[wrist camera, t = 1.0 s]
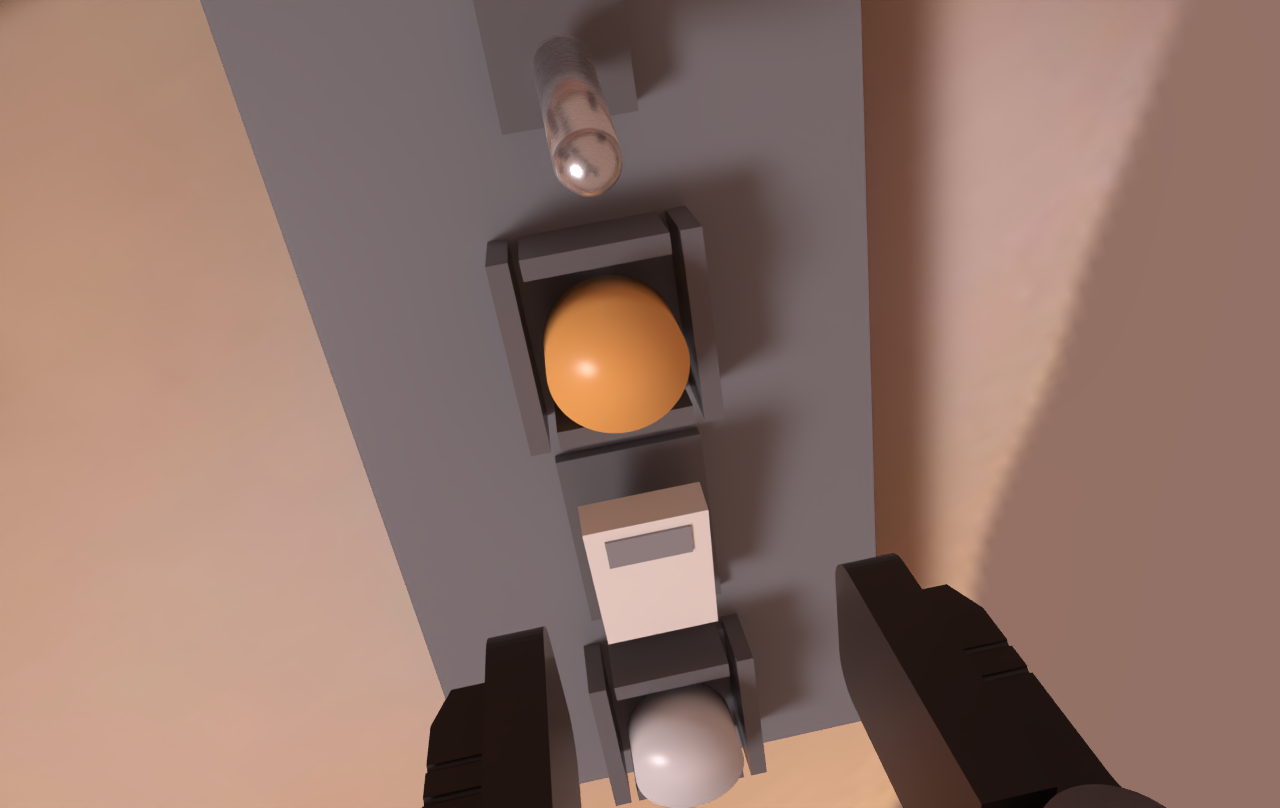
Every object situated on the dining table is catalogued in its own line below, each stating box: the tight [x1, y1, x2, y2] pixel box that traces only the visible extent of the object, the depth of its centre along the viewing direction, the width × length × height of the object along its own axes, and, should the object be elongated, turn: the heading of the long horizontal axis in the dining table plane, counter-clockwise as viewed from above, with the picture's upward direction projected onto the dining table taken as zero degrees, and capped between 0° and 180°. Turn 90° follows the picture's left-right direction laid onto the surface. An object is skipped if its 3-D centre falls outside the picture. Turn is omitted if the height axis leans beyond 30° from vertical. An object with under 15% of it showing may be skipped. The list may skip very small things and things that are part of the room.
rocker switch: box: [578, 482, 718, 645], centre depth 23 cm, size 5×3×1 cm
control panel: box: [200, 0, 876, 806], centre depth 23 cm, size 27×14×5 cm, turn 9°
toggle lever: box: [532, 34, 623, 197], centre depth 16 cm, size 1×1×5 cm
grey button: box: [628, 684, 744, 808], centre depth 25 cm, size 3×3×2 cm
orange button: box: [543, 275, 690, 433], centre depth 20 cm, size 3×3×2 cm
